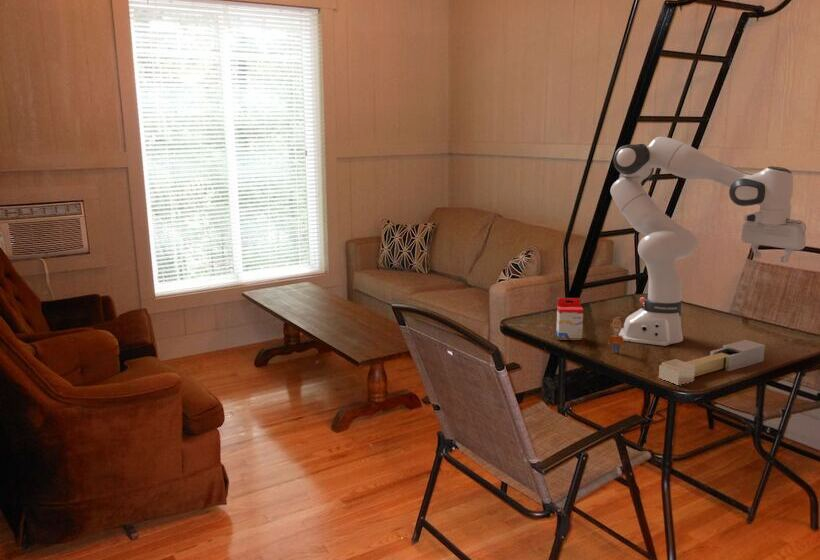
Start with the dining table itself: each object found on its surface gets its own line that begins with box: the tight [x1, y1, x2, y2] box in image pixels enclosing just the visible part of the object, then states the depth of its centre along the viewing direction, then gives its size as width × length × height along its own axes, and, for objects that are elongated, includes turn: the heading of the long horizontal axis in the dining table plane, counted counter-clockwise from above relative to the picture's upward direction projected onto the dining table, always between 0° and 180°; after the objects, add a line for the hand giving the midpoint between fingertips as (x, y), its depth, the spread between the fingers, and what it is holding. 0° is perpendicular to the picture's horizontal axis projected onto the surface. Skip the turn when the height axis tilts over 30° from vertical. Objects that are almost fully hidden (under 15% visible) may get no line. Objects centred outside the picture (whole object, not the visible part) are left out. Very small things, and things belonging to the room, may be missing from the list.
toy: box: [607, 316, 625, 354], centre depth 224 cm, size 5×3×13 cm, turn 59°
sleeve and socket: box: [658, 339, 766, 386], centre depth 208 cm, size 40×7×5 cm, turn 119°
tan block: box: [685, 353, 729, 378], centre depth 205 cm, size 22×4×4 cm, turn 119°
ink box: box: [555, 297, 584, 339], centre depth 240 cm, size 8×5×15 cm, turn 88°
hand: (770, 259), depth 219 cm, fingers open, 8 cm apart
